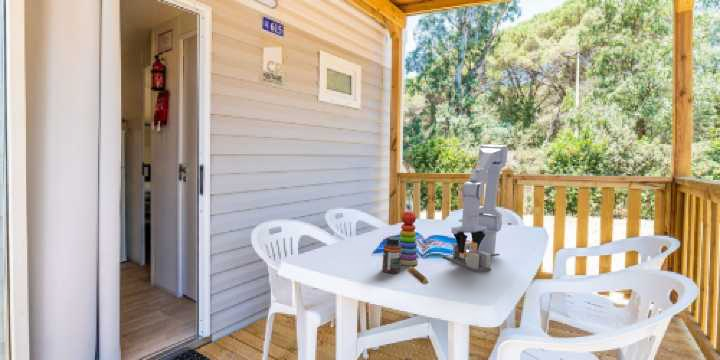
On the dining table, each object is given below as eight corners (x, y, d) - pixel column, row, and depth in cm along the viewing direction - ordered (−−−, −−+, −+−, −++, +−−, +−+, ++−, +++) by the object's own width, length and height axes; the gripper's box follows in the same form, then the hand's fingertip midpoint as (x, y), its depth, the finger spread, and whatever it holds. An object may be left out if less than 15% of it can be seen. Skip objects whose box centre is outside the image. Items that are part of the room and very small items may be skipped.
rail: (442, 257, 151) (443, 243, 150) (457, 255, 154) (458, 242, 153) (474, 272, 134) (475, 256, 134) (490, 270, 137) (492, 255, 136)
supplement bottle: (380, 268, 133) (382, 235, 132) (398, 268, 133) (400, 235, 133) (383, 273, 127) (385, 239, 126) (401, 274, 128) (403, 240, 127)
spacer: (476, 257, 143) (477, 243, 142) (463, 258, 141) (465, 243, 140) (471, 255, 145) (472, 241, 144) (459, 256, 143) (460, 241, 142)
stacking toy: (419, 261, 143) (423, 210, 142) (415, 267, 136) (418, 214, 134) (398, 258, 146) (401, 208, 144) (393, 264, 138) (396, 211, 137)
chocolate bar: (421, 284, 120) (422, 277, 120) (406, 272, 132) (407, 265, 131) (429, 284, 121) (429, 277, 121) (413, 271, 132) (414, 265, 132)
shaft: (449, 255, 148) (450, 242, 148) (461, 254, 151) (462, 242, 150) (471, 265, 137) (472, 251, 137) (483, 264, 139) (484, 250, 139)
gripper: (461, 217, 135) (458, 256, 136) (494, 216, 141) (491, 253, 142) (449, 214, 142) (446, 251, 143) (480, 213, 147) (478, 248, 148)
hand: (467, 252), depth 143 cm, fingers closed on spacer, 5 cm apart
